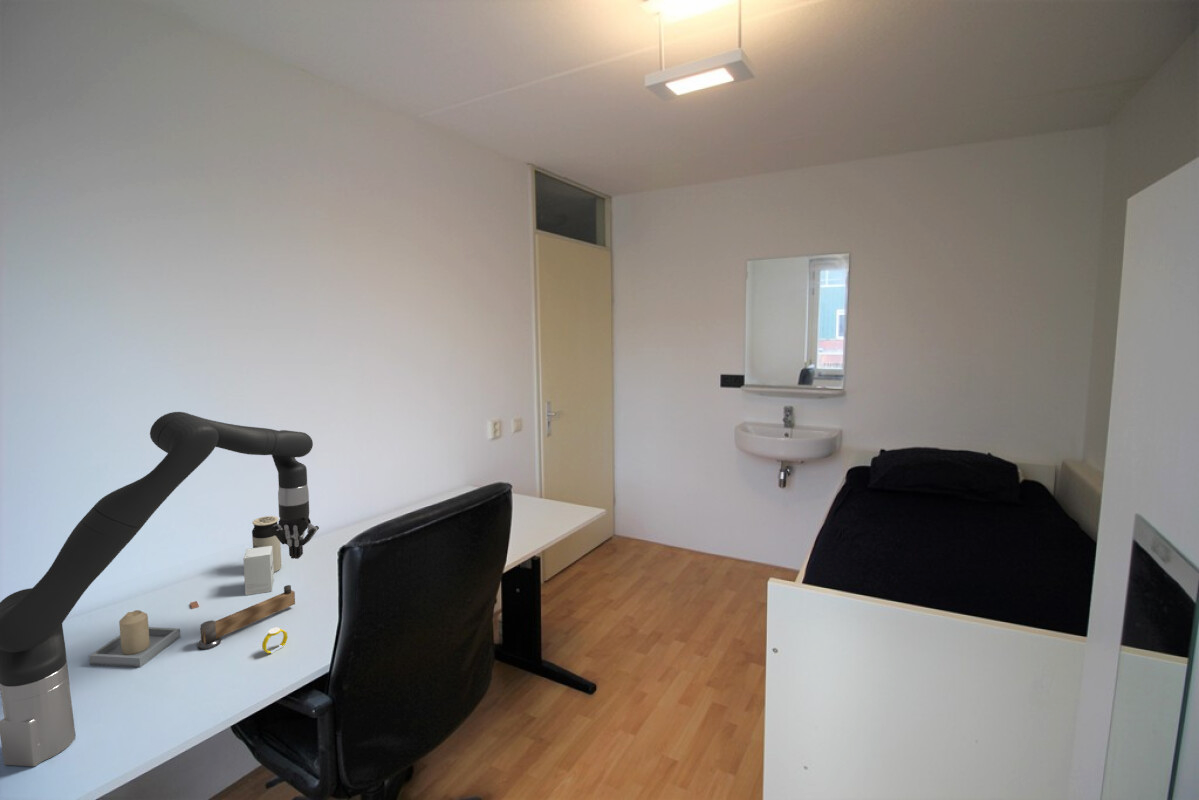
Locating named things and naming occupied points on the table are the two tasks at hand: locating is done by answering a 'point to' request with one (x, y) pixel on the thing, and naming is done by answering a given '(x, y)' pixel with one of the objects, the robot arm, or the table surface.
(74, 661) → the table surface
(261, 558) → the supplement box
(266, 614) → the crank lever
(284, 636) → the watch
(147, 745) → the table surface
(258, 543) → the travel mug
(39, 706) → the robot arm
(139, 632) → the candle
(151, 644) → the tray
